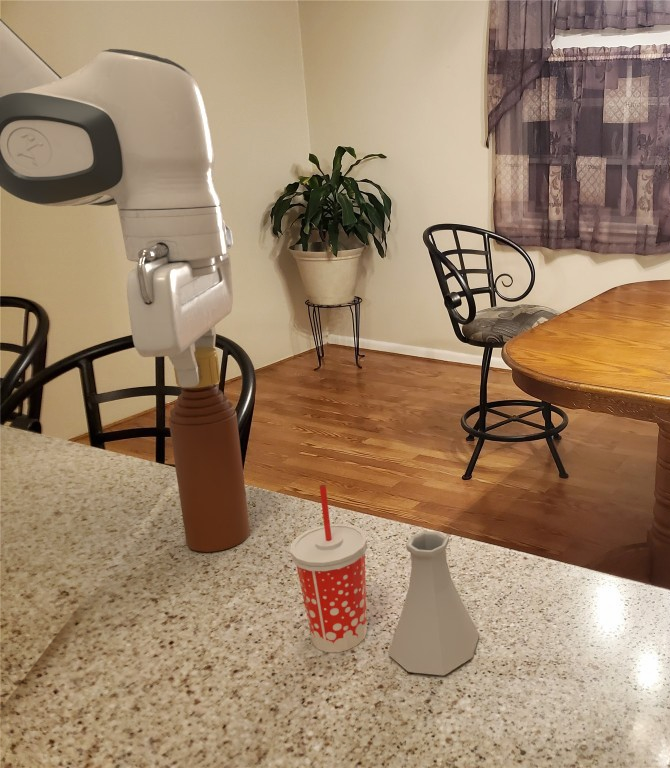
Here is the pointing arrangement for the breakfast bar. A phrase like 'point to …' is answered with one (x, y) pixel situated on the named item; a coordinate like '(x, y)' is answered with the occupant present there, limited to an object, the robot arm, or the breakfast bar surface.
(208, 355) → the bottle cap
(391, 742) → the breakfast bar surface
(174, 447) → the bottle
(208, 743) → the breakfast bar surface
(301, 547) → the beverage cup
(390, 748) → the breakfast bar surface
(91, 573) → the breakfast bar surface
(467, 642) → the flask
